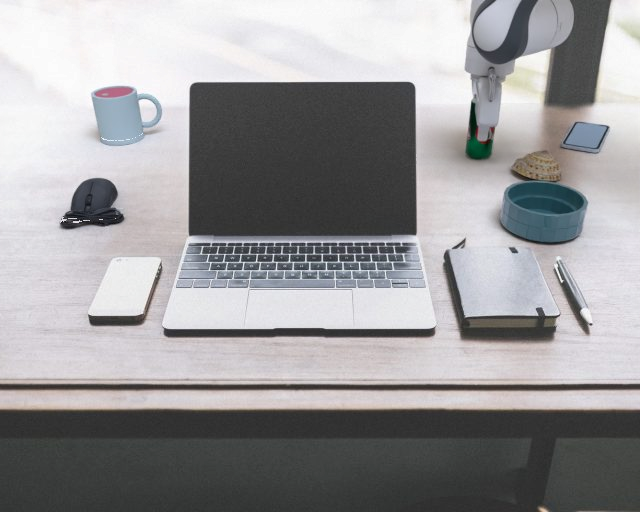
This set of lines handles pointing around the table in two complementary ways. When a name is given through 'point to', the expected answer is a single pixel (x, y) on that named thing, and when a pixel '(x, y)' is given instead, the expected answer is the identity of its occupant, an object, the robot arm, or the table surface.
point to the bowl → (543, 211)
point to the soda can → (473, 145)
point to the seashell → (538, 166)
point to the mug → (121, 114)
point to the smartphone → (586, 136)
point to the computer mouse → (94, 203)
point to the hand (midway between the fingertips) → (480, 133)
